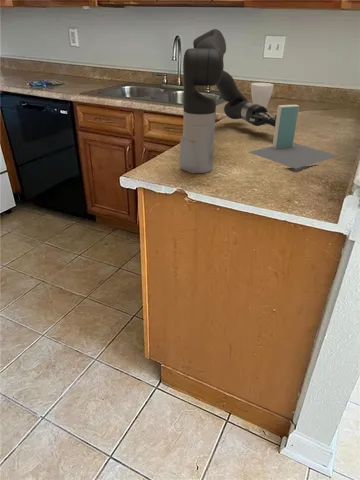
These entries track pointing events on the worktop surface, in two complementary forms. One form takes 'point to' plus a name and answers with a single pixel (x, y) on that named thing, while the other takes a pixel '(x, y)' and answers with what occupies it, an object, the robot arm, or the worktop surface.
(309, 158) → the mat
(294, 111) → the tile
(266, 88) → the cup
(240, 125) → the worktop surface
